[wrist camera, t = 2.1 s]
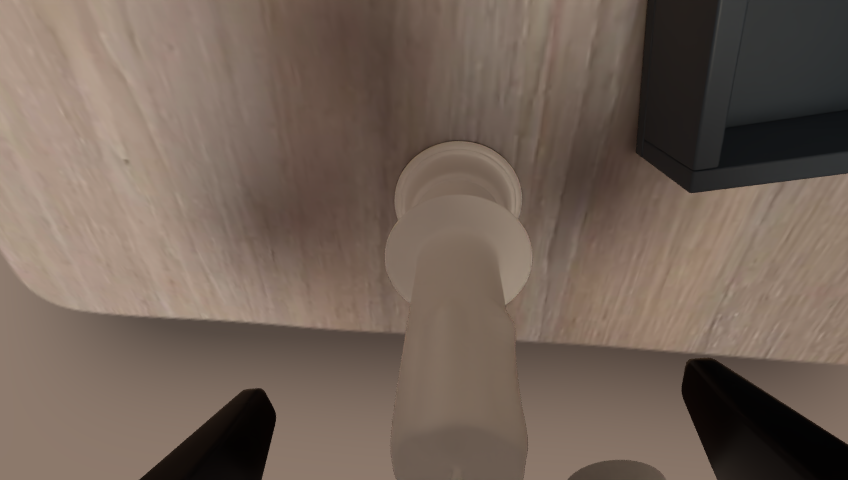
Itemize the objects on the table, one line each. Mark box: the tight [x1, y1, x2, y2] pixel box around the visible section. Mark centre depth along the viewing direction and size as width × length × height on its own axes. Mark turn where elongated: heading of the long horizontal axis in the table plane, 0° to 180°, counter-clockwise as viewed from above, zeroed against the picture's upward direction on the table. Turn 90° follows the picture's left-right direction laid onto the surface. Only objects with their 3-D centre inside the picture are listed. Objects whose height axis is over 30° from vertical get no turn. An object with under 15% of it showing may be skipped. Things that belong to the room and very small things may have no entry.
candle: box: [385, 141, 532, 480], centre depth 12 cm, size 5×5×12 cm
